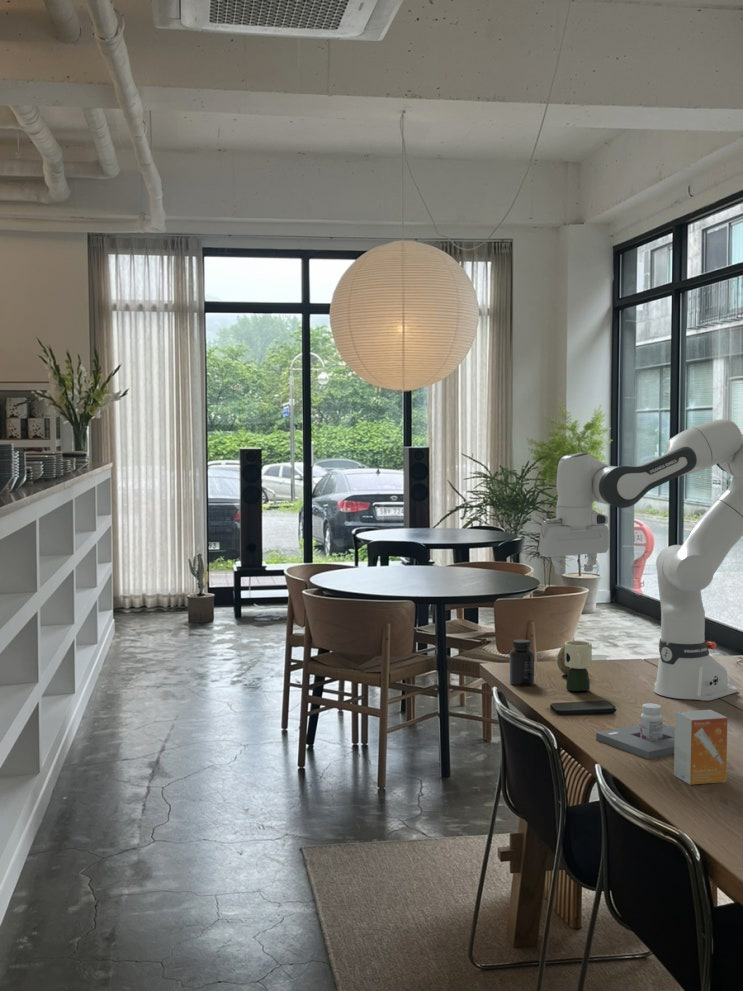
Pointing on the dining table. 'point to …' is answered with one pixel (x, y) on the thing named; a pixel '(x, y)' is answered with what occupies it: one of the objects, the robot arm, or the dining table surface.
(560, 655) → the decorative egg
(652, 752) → the socket plate
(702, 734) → the small box
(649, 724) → the pill bottle
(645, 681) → the dining table surface
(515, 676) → the supplement bottle
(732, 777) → the dining table surface
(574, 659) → the character mug
